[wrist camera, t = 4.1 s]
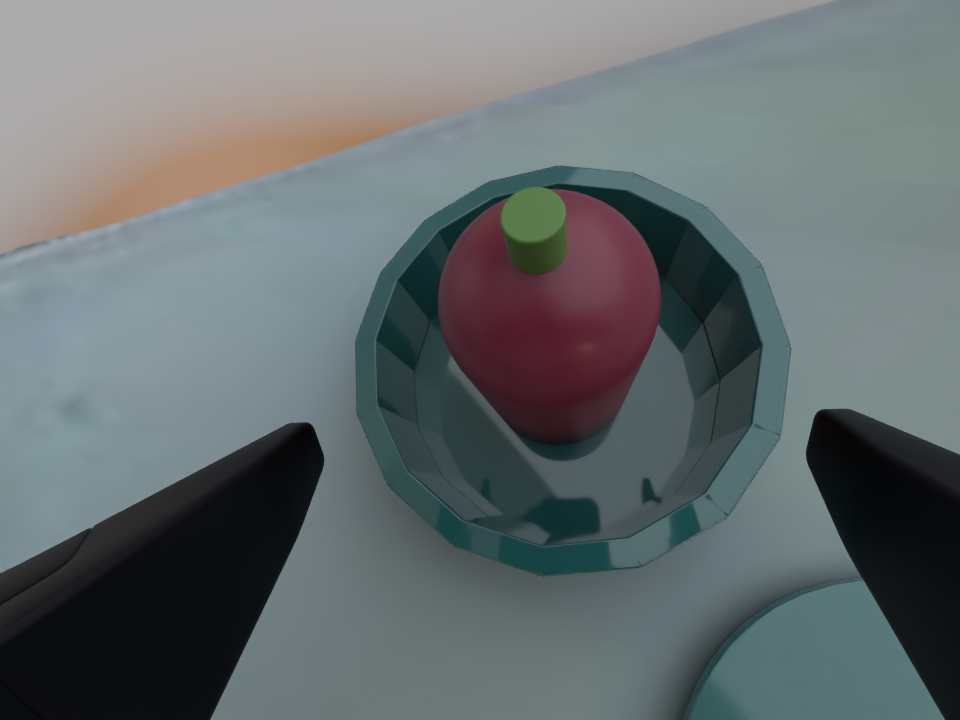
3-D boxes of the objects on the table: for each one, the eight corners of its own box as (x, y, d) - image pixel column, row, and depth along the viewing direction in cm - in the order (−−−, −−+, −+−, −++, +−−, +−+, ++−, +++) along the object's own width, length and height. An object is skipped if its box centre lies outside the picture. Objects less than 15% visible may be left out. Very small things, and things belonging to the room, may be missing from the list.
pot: (600, 638, 16) (611, 693, 11) (347, 414, 21) (281, 388, 16) (801, 343, 18) (882, 286, 13) (525, 196, 22) (512, 115, 18)
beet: (572, 475, 17) (570, 432, 7) (461, 390, 19) (329, 257, 9) (656, 359, 18) (768, 163, 7) (541, 288, 20) (504, 55, 9)
